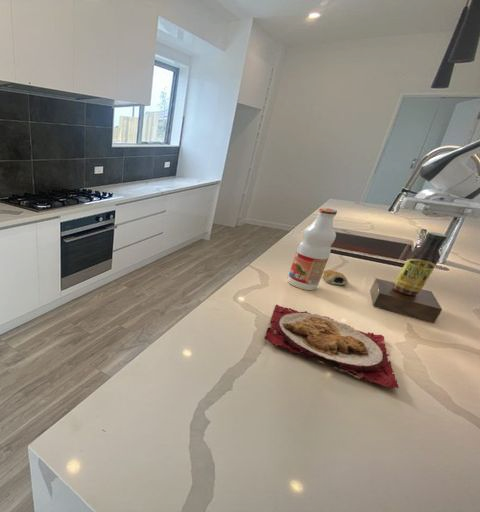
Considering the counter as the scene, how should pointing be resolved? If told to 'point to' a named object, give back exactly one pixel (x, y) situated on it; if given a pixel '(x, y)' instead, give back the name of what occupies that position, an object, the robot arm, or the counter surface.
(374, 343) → the plate with food
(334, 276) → the pastry
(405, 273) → the sauce bottle
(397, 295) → the riser
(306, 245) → the fruit juice
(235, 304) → the counter surface
